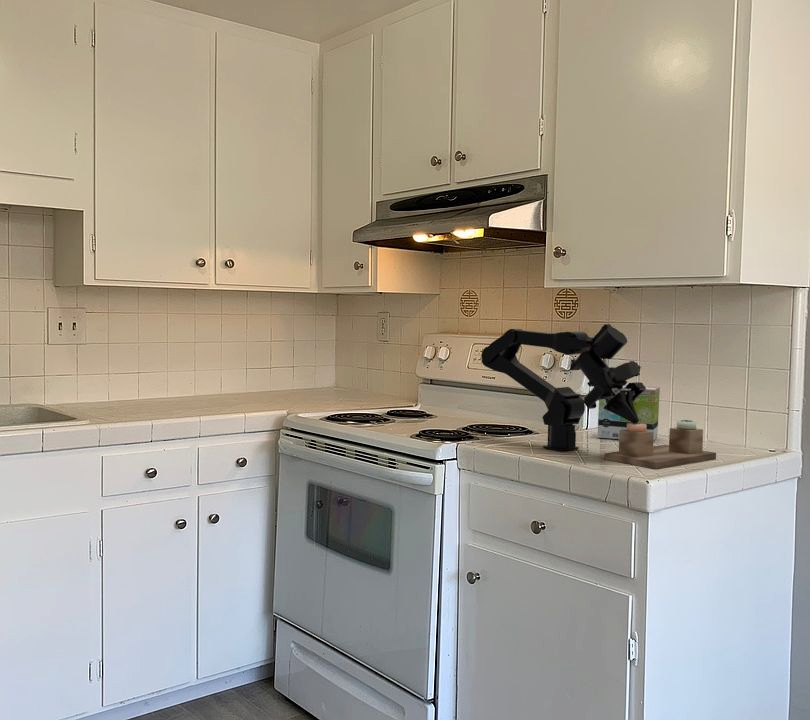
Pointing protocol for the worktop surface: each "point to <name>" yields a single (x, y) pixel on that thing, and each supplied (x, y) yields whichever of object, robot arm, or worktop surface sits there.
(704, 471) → the worktop surface
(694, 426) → the button
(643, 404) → the tea box
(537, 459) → the worktop surface
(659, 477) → the worktop surface
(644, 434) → the console
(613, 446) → the worktop surface
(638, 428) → the button
